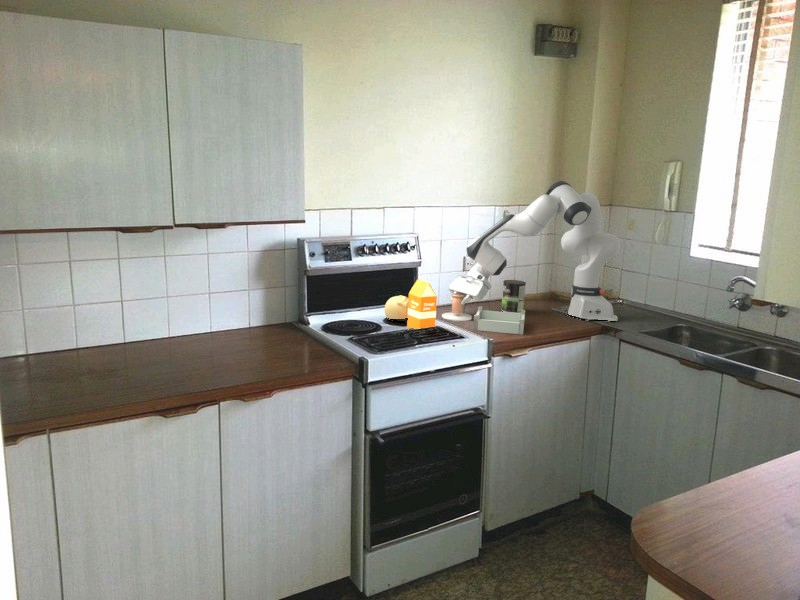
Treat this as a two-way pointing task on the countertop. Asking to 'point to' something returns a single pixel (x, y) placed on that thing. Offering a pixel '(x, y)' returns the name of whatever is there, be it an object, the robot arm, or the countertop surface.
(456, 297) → the terracotta pot
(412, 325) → the orange juice
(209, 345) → the countertop surface
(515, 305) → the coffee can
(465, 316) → the saucer
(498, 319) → the green tray
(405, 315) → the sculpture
